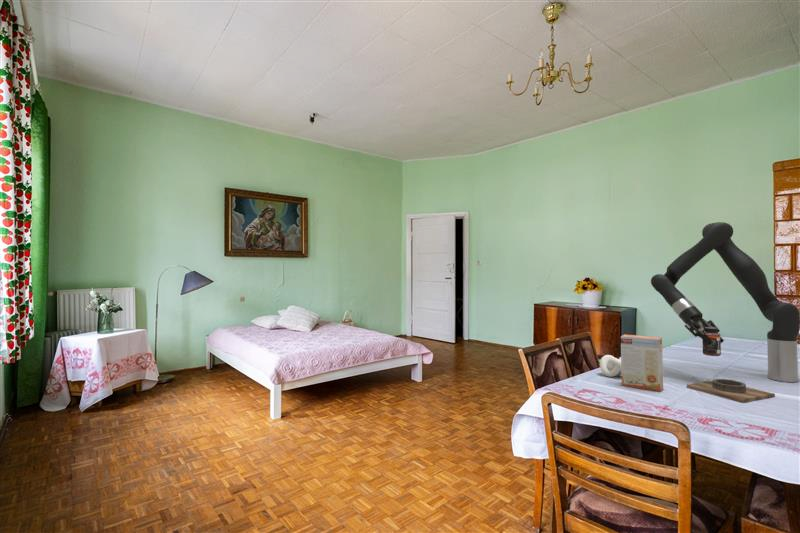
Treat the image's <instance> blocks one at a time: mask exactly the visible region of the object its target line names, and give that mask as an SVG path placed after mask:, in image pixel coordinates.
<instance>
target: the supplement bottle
mask: <svg viewBox="0 0 800 533" xmlns="http://www.w3.org/2000/svg"><path fill="white" fill-rule="evenodd" d="M717 328H718V327H717ZM717 328H715V327H705V335H707V336H708V337H709V338H710V339H711V340H712V343H711V344H710V345H707V344H706V343H705V342H704V340H703V339H702V338H701V339H702V354H703V355H706V356H708V357H709V356H711V357H720V356H722V345H721V344H722V343H721V338H722V337H721V334H720V333H719V332H717ZM720 337H721V338H720Z"/></svg>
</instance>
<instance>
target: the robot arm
mask: <svg viewBox="0 0 800 533" xmlns="http://www.w3.org/2000/svg"><path fill="white" fill-rule="evenodd" d="M701 234H702V238H701V239H700V240H699V241H698V242H697V243H696V244H695V245H693V246H691V247H690V248H689V249H688V250H686V251H684V252H683V253H682V254H680V255H679V256H678V257H677V258H675V259H674V260H673V261H672V262H671V263H670V264H668V266H667V267H666V272H665V273H664V274H662V273H656V274H655V275H653V276H652V277H651V280H650V284H651V286H652V288H653V289H654V290H655V291H656V292H658V294H660V295H661V297H663V299H664V300H665V302H666V303H667V304H668V305H669V306H670V307H671V309H672V310H673V312H674V313H675V314H676V315H677V316H678V318H680V319H681V320H682V321H683V323H684V324H685V325H684V328H686V329H687V330H688V331H689V332H690V333H691V334H692V335H693V336H694V337H695V338H697V337H698V338H700V339H703V340H704V342H705V343H706V344H707V345H710V344H711V343H712V340H711V339H710V338H709V337H708V336H707V335H705V327H715V328H717V332H718V333H719V332H721V331H720V329H719V327H717V326H716V325H715V323H714V321H712V320H711V319H710V320H708V321H707V320H706V319H704V318H703V314H704V313H702V312H701V310H699V308H697V306H696V305H695V304H693V301H691V300H690V299H688V298H687V297H686V296H685V295H684V294H683V293H682V292H681V291H680V290H679V289H677V287H676V285H677V283H678V282H679V280H680V279H681V278H682V277H683V276H684V275H685V274H686V273H688V271H689V272H690V270H691V269H692V268H693V267H694V266H695V265H696V264H697V263H699V262H700V261H701V260H702V259H703V258H704V257H705V258H706V256H707V255H708V254H709V253H711V252H712V251H715V252H716V253H717V254H718V255H719V257H720V258H721V259H722V261H723V262H724V264H725V265H726V266H727V268H728V269H729V270H730V271H731V273H732V274H733V276H734V278H735V279H736V280H737V281H738V282H739V283H740V285H742V287H743V288H744V289H745V290H746V292H747V294H749V295H750V297H751V298H752V299H753V300H754V302H755V304H756V305H757V307H758V309H759V311H760V312H761V313H762V315H763V317H764V318H765V319H767V320H768V322H769V321H770V322H772V329H771V330H768V331H767V332H766V333H767V334H766V338H767V339H766V340H767V343H766V345H767V346H766V347H767V378H768V379H770V380H774V381H778V382H783V383H784V382H785V383H797V382H798V381H799V368H798V366H799V364H798V361H799V360H798V336H799V334H800V310H799V308H798V307H797V306H796V305H794V304H792V303H790V302H783V301H780V300H779V298H778V297H776V296H775V294H774V293H773V292H772V290H771V289H770V287H769V285H768V284H769V283H768V278H767V276H766V274H765V272H764V271H763V269H762V268H761V266H759V263H757V262H756V261H755V260H754V258H752V257H751V256H750V255H748V254H747V253H746V252H745V251H743V250H742V249H740V248H739V246H737V245H736V244H735V243H734V241H733V239H731V238H732V237H733V235H734V228H733V226H732V225H731V224H730V223H727V222H724V221H722V222H721V221H719V222H712V223H707V224H706V225H705V226H704V227H703V228H702V231H701ZM720 338H721V344H722V343H724V342H725V340H724V338H723V337H722V336H720Z"/></svg>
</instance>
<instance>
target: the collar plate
mask: <svg viewBox="0 0 800 533" xmlns="http://www.w3.org/2000/svg"><path fill="white" fill-rule="evenodd" d="M686 388H688V389H691V390H695V391H697V392H698V391H699V392H702V393H705V394H709V395H712V396H717V397H719V398H724V399H728V400H731V401H735V402H739V403H742V404H745V403H750V402H754V401H755V400H756V401H760V400H765V399H766V400H767V399H772V398H775V397H776V393H774V392H769V391H765V390H760V389H756V388H752V387H748V386H747V384H746V383H744V382H742V381H738V380H734V379H726V378H716V379H712V380H708V381H703V382H694V383H688V384H686Z"/></svg>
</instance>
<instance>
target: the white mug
mask: <svg viewBox="0 0 800 533" xmlns="http://www.w3.org/2000/svg"><path fill="white" fill-rule="evenodd" d="M599 368H600V371H601V373H603V375H605V376H606V377H608V378H615V377H616V376H618V375H619V376H620V377H622V376H621V356H619V358H617V357H614V356H613V355H611V354H605V355H604V356H602V357H601V358H600V360H599Z"/></svg>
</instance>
